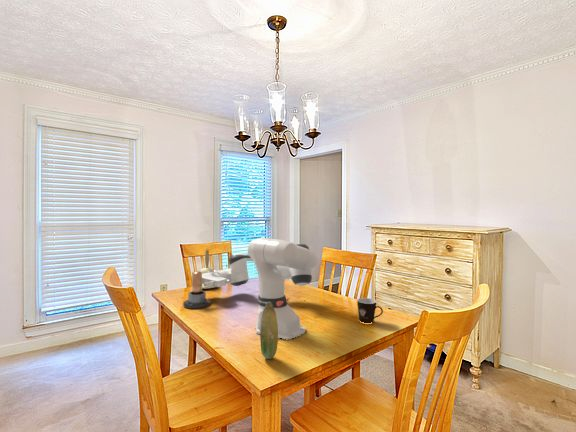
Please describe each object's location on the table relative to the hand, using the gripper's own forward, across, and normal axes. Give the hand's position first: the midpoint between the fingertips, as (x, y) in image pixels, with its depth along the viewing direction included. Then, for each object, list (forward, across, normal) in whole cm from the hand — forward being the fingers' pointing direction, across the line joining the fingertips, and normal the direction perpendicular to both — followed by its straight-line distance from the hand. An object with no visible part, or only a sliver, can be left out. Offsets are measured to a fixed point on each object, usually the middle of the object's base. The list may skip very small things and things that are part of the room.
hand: (199, 283), depth 169 cm
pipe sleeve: (+2, 0, -11) cm, 11 cm away
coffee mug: (-30, -83, -12) cm, 89 cm away
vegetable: (+24, -69, -12) cm, 74 cm away
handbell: (-24, +24, -12) cm, 36 cm away
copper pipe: (+2, 0, -10) cm, 10 cm away
